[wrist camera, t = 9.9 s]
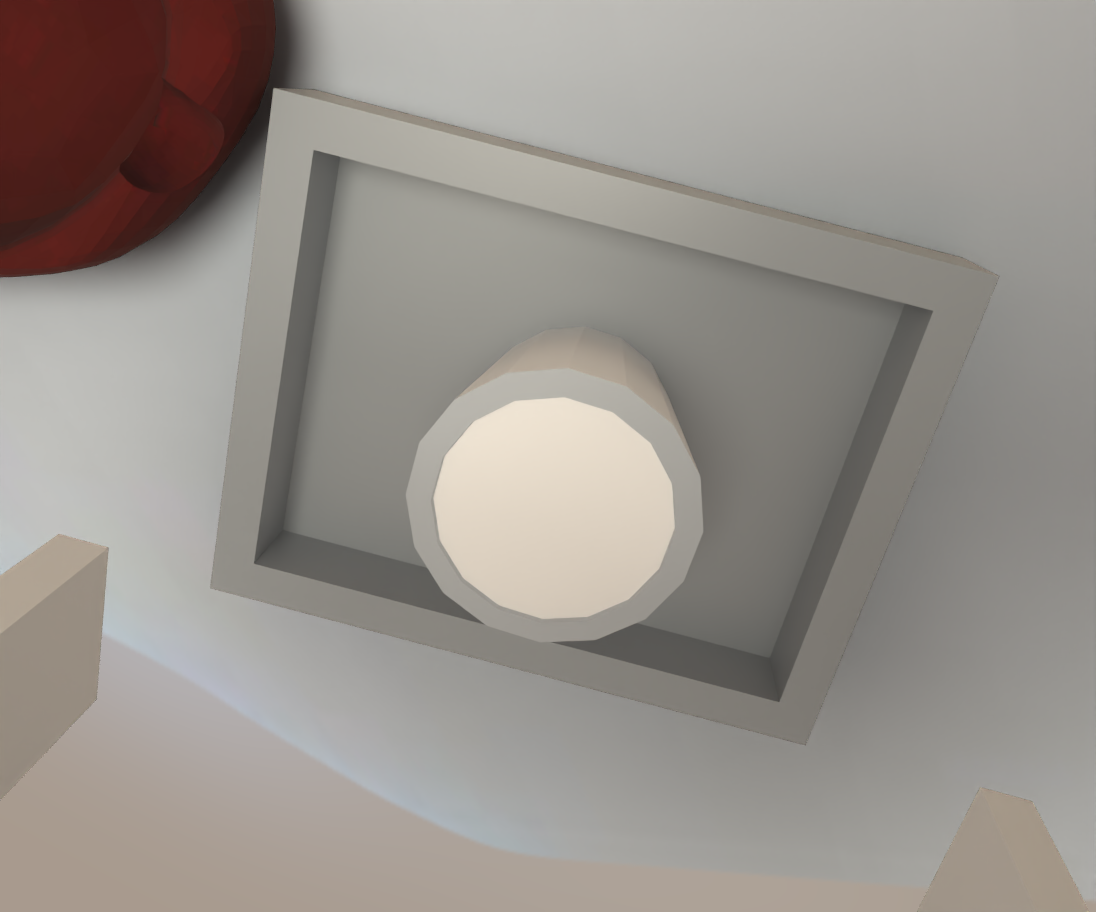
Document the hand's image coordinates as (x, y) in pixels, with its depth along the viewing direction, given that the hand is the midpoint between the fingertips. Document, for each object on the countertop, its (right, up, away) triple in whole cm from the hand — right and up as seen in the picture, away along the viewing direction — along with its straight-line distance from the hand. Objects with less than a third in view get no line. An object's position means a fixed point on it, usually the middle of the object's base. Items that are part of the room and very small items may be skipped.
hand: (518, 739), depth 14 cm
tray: (+1, +5, +15) cm, 16 cm away
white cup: (+1, +5, +14) cm, 15 cm away
